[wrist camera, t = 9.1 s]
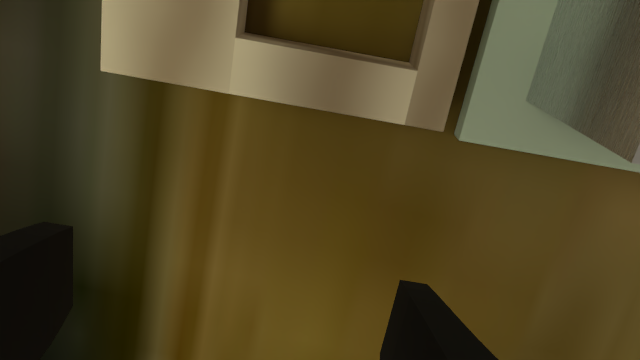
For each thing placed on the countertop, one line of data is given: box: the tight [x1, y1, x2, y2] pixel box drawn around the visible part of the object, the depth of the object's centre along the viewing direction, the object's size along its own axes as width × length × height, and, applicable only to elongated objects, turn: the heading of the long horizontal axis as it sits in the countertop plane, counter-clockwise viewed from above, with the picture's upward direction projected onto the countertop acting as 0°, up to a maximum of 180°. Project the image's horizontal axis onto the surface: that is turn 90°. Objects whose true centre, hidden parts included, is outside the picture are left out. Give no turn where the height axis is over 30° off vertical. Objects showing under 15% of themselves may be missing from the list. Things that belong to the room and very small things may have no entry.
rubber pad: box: [454, 0, 640, 172], centre depth 18 cm, size 9×9×1 cm
